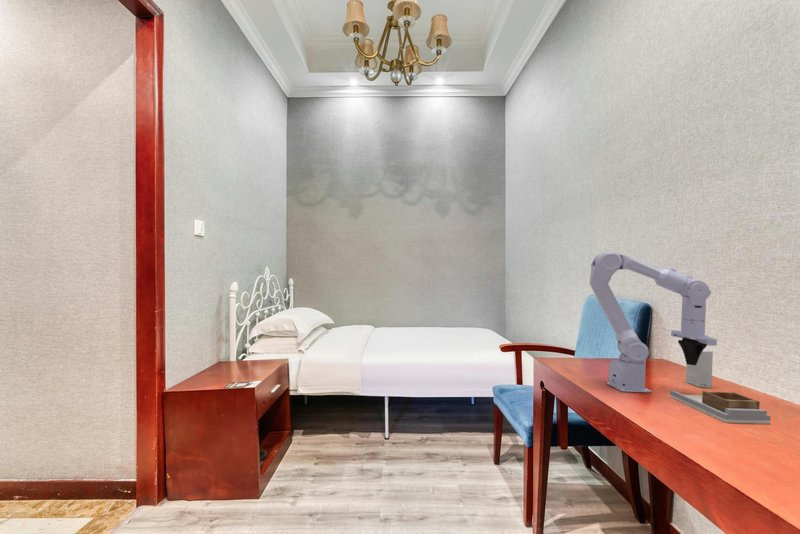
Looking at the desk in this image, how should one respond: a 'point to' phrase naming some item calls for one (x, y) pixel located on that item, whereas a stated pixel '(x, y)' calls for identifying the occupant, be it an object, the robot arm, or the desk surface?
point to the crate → (728, 400)
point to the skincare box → (701, 370)
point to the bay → (730, 413)
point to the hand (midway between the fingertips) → (691, 364)
